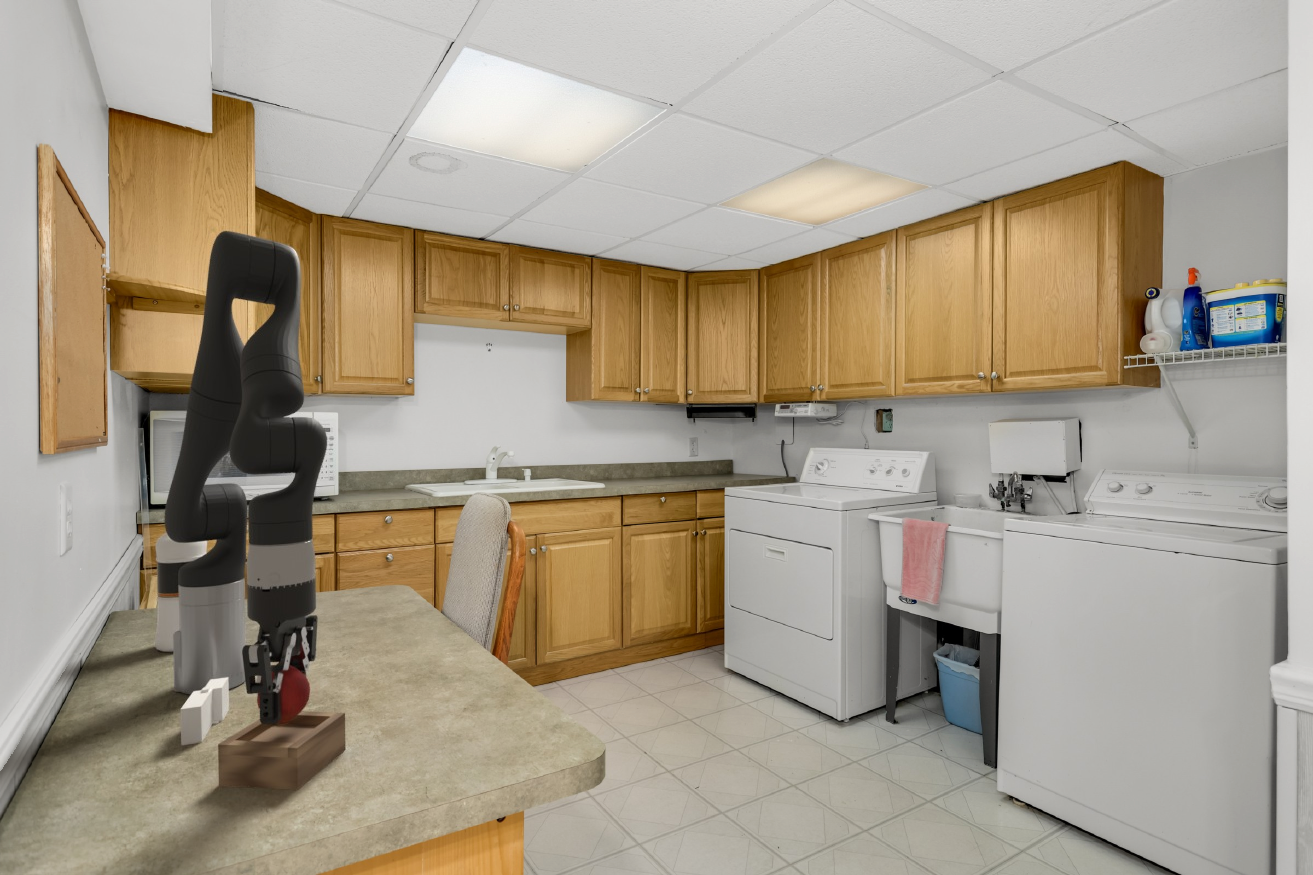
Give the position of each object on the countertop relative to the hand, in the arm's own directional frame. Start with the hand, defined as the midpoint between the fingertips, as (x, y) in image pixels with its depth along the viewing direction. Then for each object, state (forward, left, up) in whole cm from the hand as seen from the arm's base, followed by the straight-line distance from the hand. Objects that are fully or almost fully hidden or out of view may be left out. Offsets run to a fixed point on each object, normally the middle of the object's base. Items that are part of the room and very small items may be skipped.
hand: (284, 711), depth 86 cm
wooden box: (0, 0, -7) cm, 7 cm away
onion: (0, 0, -2) cm, 2 cm away
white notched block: (-17, +13, -8) cm, 23 cm away
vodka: (-45, +51, -7) cm, 68 cm away
